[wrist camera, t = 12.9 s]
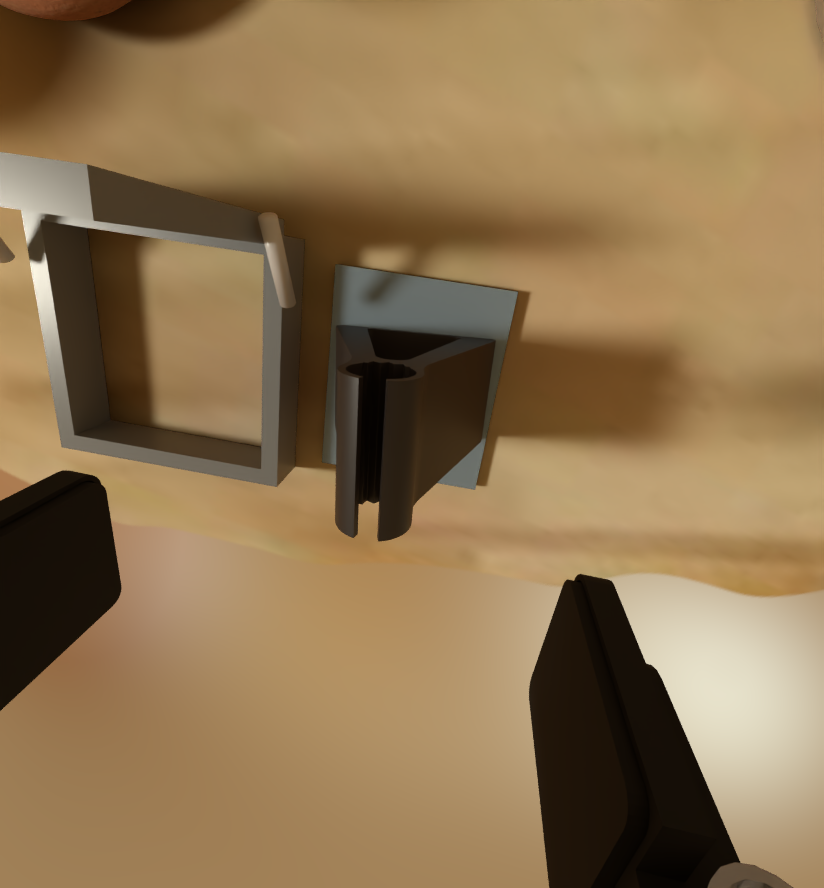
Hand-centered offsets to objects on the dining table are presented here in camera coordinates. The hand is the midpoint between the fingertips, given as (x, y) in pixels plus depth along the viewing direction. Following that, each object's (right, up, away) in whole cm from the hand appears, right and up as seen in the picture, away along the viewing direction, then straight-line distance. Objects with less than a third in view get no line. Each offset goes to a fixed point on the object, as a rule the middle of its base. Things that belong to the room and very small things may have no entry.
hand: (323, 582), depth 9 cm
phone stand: (+2, +6, +17) cm, 19 cm away
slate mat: (+2, +6, +18) cm, 19 cm away
